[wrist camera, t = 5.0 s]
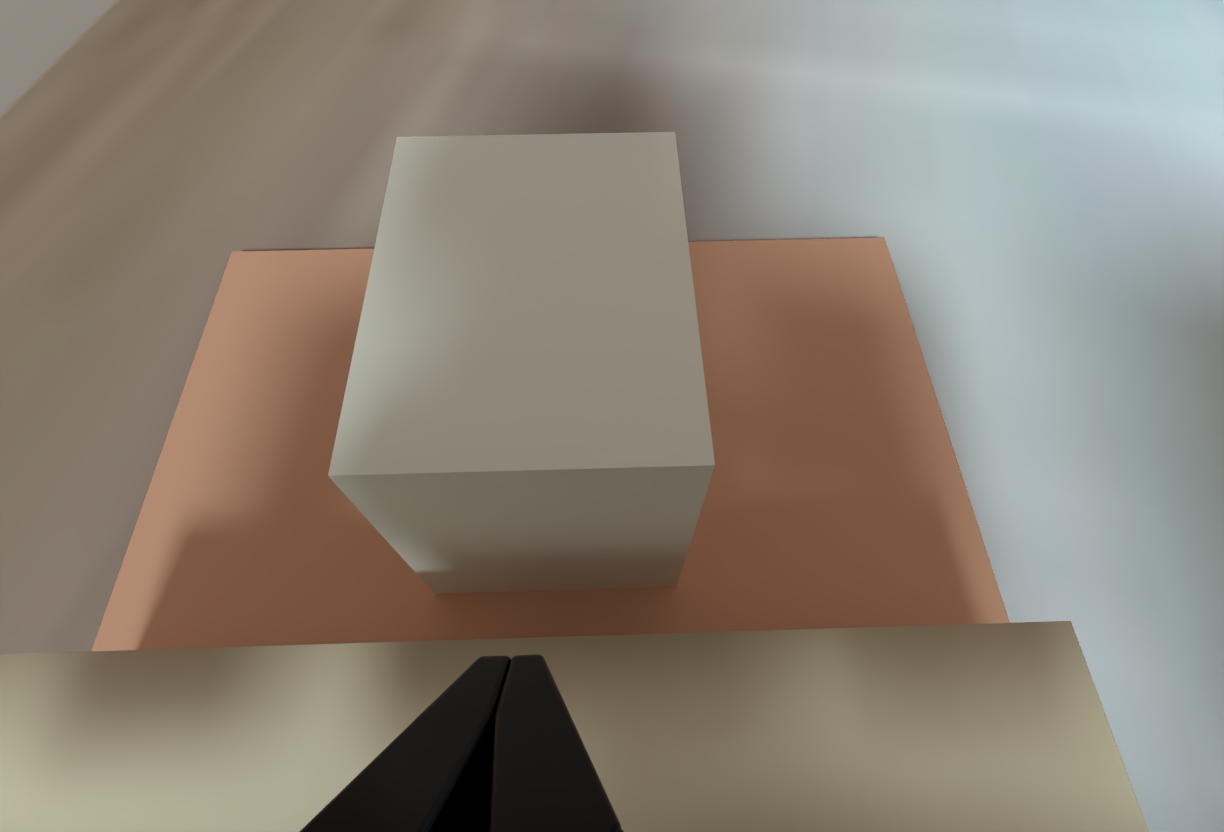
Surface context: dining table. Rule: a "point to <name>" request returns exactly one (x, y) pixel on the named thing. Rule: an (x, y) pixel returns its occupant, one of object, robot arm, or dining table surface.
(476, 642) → the board
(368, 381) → the block
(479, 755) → the robot arm
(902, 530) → the mat
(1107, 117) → the dining table surface
